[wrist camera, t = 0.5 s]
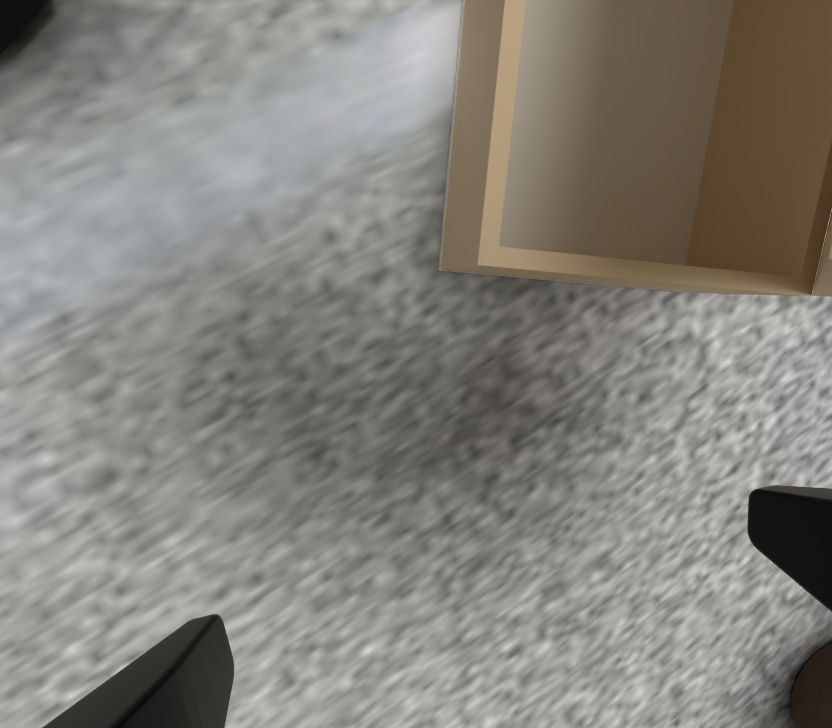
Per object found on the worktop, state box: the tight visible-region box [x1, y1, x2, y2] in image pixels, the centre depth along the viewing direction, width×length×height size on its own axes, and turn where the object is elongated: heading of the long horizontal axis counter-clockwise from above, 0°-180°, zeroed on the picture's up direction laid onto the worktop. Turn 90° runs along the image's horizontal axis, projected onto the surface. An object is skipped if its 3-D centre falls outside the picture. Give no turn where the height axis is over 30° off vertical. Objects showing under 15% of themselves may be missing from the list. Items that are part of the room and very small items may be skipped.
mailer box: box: [438, 0, 832, 296], centre depth 16 cm, size 12×18×6 cm, turn 175°
